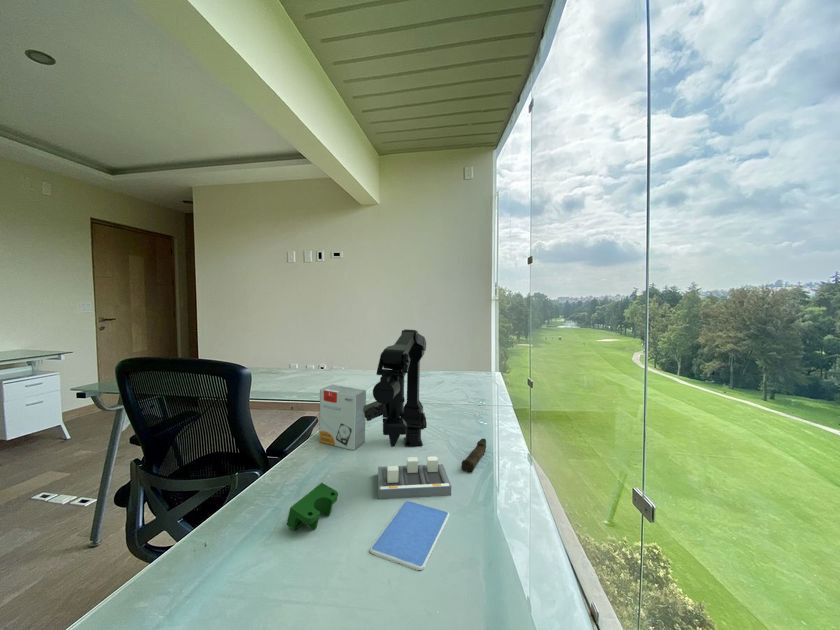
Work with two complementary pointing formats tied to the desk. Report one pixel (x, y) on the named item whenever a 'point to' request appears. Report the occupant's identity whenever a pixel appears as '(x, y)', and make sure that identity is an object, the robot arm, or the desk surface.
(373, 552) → the tablet computer
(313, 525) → the clamp
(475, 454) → the brown wooden log
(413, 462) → the tab
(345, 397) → the hard drive box
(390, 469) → the tab
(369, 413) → the robot arm
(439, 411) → the desk surface
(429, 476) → the switch panel
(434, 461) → the tab
